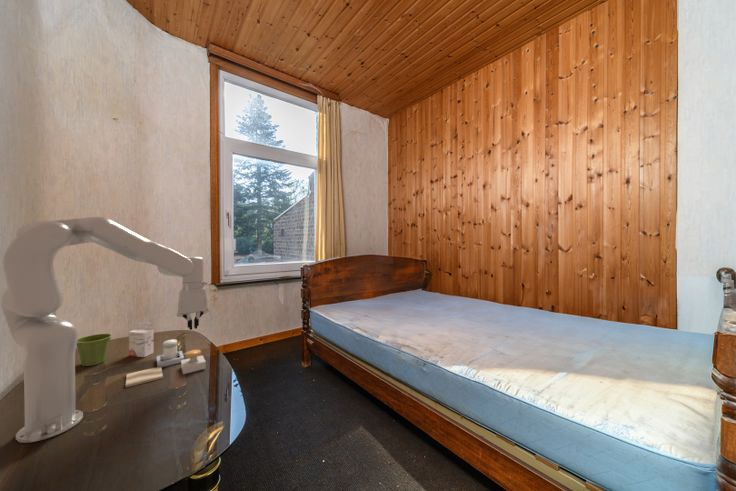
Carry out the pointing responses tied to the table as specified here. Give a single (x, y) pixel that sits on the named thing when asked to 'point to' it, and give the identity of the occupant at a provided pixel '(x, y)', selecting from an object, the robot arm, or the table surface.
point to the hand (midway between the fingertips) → (193, 328)
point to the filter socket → (169, 362)
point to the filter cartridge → (169, 349)
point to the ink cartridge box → (141, 340)
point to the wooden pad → (143, 376)
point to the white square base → (193, 365)
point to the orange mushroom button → (193, 355)
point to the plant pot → (93, 348)
